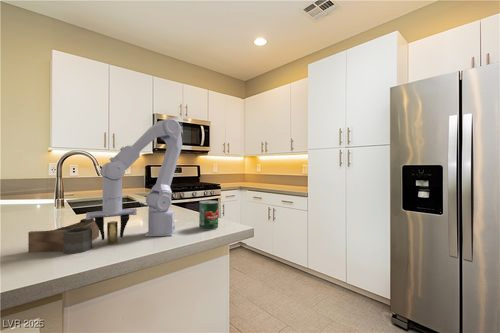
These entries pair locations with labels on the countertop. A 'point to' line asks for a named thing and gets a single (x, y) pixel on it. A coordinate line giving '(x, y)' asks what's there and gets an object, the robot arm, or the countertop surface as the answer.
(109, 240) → the pin
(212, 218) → the canned tomato
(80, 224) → the hand tool
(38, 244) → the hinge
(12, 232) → the countertop surface
